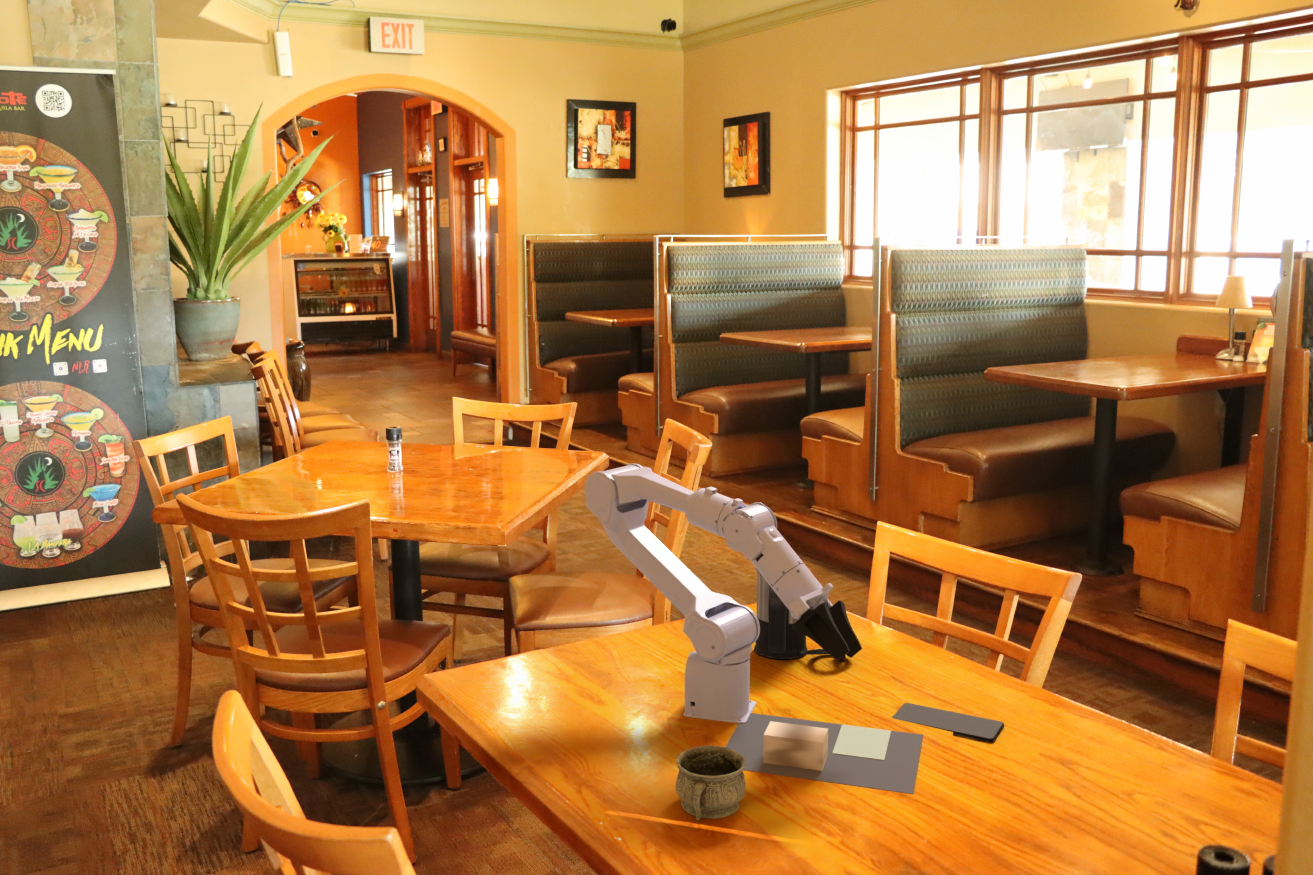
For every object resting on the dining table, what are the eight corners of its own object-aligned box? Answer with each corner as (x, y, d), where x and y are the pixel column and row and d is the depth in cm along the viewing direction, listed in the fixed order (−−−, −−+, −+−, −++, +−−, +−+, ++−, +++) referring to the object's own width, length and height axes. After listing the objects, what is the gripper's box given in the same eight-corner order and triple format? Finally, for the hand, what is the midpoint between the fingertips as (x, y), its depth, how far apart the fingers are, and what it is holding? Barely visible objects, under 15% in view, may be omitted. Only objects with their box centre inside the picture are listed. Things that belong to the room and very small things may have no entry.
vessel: (731, 837, 130) (732, 787, 128) (661, 824, 132) (661, 775, 131) (756, 790, 141) (757, 744, 140) (691, 779, 144) (691, 734, 143)
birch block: (763, 762, 147) (763, 734, 147) (769, 748, 152) (770, 720, 151) (822, 770, 145) (823, 742, 144) (827, 755, 149) (828, 728, 148)
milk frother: (749, 642, 194) (750, 561, 191) (836, 638, 196) (838, 558, 193) (765, 672, 180) (767, 585, 177) (859, 668, 182) (862, 582, 179)
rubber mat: (714, 768, 147) (714, 764, 146) (744, 714, 163) (744, 711, 163) (913, 796, 139) (913, 792, 139) (923, 737, 156) (923, 733, 156)
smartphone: (904, 701, 167) (1005, 721, 160) (904, 707, 167) (1004, 727, 160) (890, 717, 161) (993, 739, 154) (889, 723, 161) (993, 745, 154)
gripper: (795, 556, 146) (860, 637, 141) (822, 559, 160) (883, 634, 155) (756, 589, 148) (819, 671, 143) (786, 590, 161) (845, 665, 156)
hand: (850, 654), depth 149 cm, fingers open, 7 cm apart
